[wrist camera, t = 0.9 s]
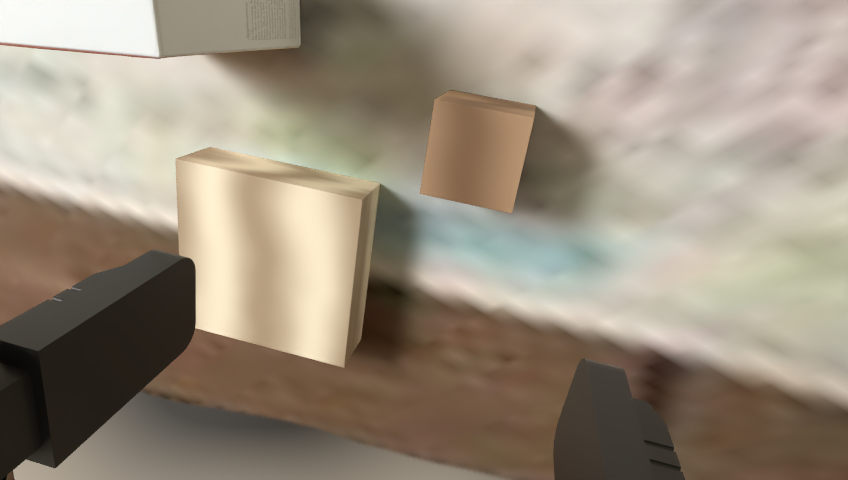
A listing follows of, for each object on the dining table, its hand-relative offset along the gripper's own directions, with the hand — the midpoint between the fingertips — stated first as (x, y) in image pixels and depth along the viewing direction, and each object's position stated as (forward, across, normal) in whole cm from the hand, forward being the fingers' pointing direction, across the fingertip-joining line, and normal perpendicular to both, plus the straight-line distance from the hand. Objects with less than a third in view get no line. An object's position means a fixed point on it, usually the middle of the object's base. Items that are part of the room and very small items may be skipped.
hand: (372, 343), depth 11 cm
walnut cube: (+23, 0, 0) cm, 23 cm away
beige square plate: (+23, +11, +10) cm, 28 cm away
